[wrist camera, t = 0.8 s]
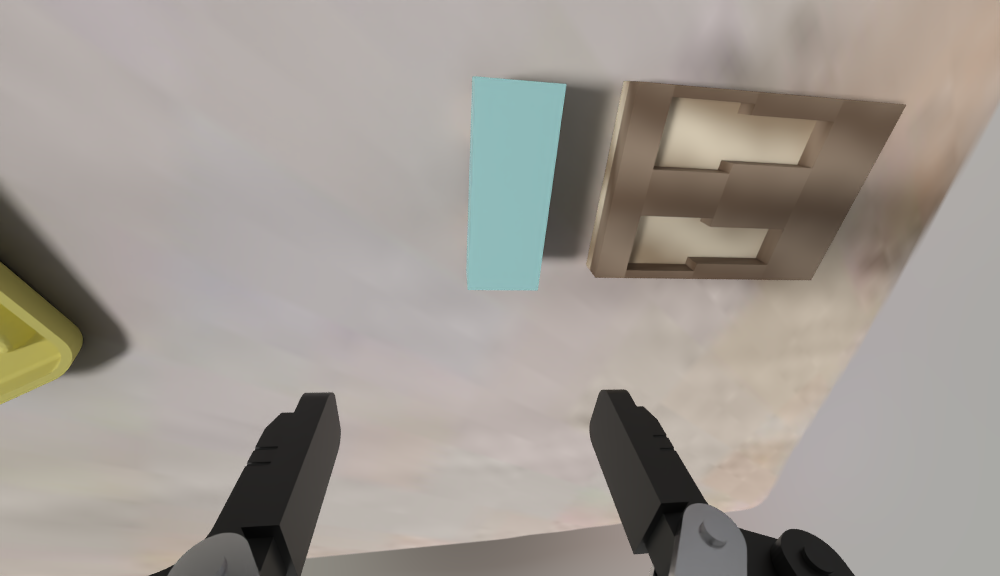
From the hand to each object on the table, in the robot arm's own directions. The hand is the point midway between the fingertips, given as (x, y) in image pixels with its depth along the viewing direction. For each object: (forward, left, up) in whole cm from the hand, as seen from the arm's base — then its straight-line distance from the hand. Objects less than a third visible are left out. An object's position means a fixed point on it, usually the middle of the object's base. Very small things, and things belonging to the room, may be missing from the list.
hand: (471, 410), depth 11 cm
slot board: (-2, +21, -20) cm, 29 cm away
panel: (-2, +3, -20) cm, 20 cm away
